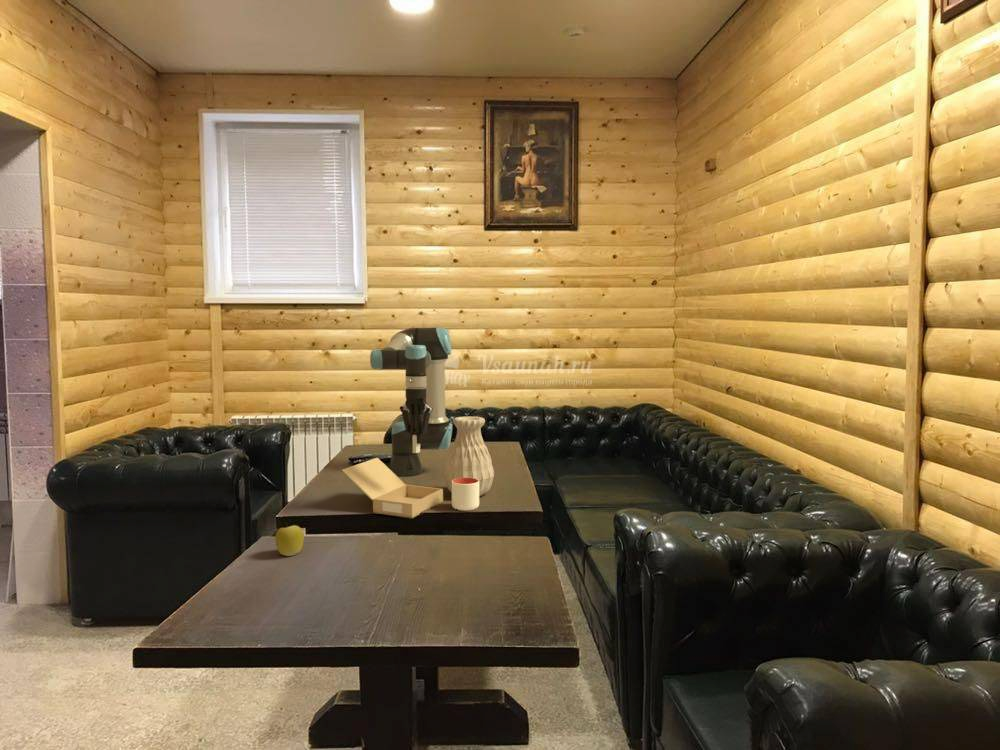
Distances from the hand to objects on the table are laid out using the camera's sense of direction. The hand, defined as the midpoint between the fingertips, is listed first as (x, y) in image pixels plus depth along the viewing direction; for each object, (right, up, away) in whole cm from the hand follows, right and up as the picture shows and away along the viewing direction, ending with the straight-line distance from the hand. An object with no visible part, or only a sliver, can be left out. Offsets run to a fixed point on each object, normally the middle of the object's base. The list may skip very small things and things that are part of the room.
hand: (416, 452), depth 241 cm
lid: (-16, -10, +6) cm, 20 cm away
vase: (+18, -19, +19) cm, 32 cm away
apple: (-31, -24, -47) cm, 61 cm away
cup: (+18, -21, +1) cm, 27 cm away
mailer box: (-3, -20, +1) cm, 20 cm away
